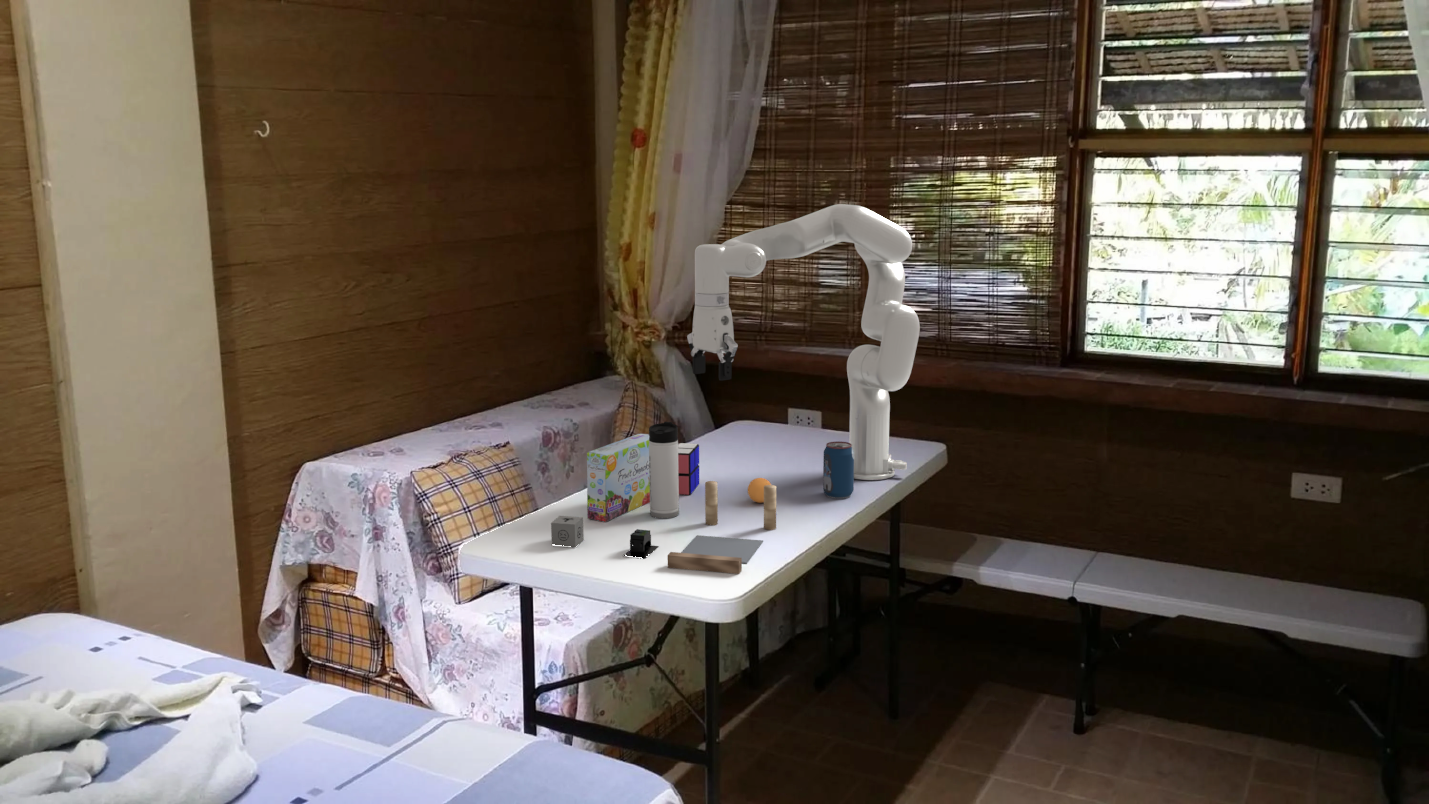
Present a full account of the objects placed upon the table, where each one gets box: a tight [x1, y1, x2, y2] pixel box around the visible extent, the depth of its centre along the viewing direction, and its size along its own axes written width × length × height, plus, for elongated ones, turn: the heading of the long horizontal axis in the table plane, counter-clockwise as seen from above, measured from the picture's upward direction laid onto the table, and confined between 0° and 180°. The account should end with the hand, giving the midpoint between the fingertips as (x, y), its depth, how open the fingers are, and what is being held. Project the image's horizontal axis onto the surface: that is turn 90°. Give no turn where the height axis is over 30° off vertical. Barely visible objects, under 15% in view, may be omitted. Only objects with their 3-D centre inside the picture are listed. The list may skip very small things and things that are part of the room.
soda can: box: [822, 440, 855, 499], centre depth 282 cm, size 7×7×12 cm
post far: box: [704, 480, 719, 526], centre depth 262 cm, size 3×3×9 cm
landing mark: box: [680, 534, 764, 564], centre depth 246 cm, size 14×14×1 cm
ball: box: [747, 477, 772, 504], centre depth 278 cm, size 6×6×6 cm
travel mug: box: [648, 421, 680, 519], centre depth 268 cm, size 6×7×20 cm
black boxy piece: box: [623, 528, 660, 560], centre depth 245 cm, size 12×7×5 cm, turn 162°
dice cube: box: [550, 515, 585, 548], centre depth 250 cm, size 5×5×5 cm
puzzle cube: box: [678, 442, 700, 496], centre depth 289 cm, size 10×10×10 cm
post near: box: [763, 484, 777, 531], centre depth 259 cm, size 3×3×9 cm
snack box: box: [586, 433, 650, 523], centre depth 273 cm, size 21×6×15 cm, turn 151°
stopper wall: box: [667, 551, 743, 575], centre depth 235 cm, size 14×2×2 cm, turn 75°
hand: (711, 376), depth 278 cm, fingers open, 9 cm apart
